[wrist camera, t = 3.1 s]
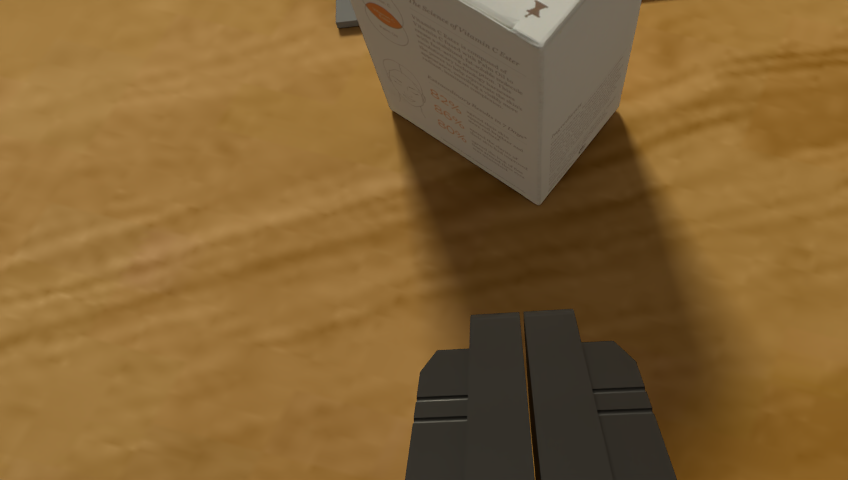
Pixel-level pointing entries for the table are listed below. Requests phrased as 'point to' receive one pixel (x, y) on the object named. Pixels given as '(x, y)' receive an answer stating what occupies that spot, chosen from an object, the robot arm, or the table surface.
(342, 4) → the e-reader
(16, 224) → the table surface
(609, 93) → the small box
